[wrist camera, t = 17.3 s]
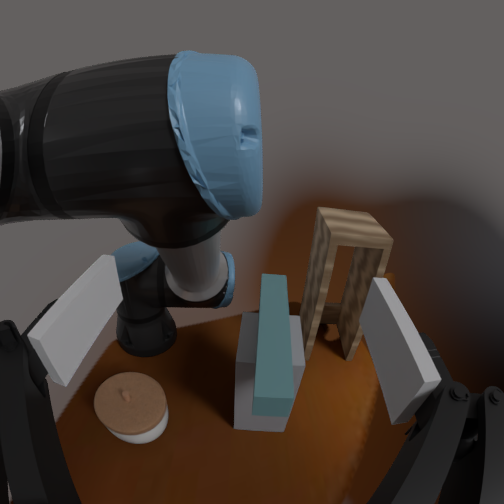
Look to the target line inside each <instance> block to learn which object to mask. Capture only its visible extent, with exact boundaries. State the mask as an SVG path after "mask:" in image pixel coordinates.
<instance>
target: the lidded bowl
mask: <svg viewBox="0 0 504 504" xmlns="http://www.w3.org/2000/svg"><path fill="white" fill-rule="evenodd" d="M94 408H95V412H96V414H97V416H98V418H99V419H100V421H101V422H102V423H103V424H104V425H105V426H106V427H107V429H108V430H109V431H110V432H111V433H113V434H114V435H115V436H117V437H118V438H120V439H122V440H124V441H126V442H129V443H135V444H143V443H148V442H151V441H153V440H155V439H156V438H158V437H159V436H160V435H161V434H162V433H163V431H164V430H165V428H166V425H167V422H168V406H167V401H166V396H165V393H164V391H163V389H162V387H161V386H160V384H159V383H158V382H157V381H156V380H154V379H153V378H151V377H149V376H147V375H145V374H141V373H137V372H125V373H120V374H116V375H114V376H112V377H110V378H108V379H107V380H106V381H104V382H103V383H102V384H101V385H100V387H99V388H98V390H97V392H96V394H95V398H94Z"/></svg>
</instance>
